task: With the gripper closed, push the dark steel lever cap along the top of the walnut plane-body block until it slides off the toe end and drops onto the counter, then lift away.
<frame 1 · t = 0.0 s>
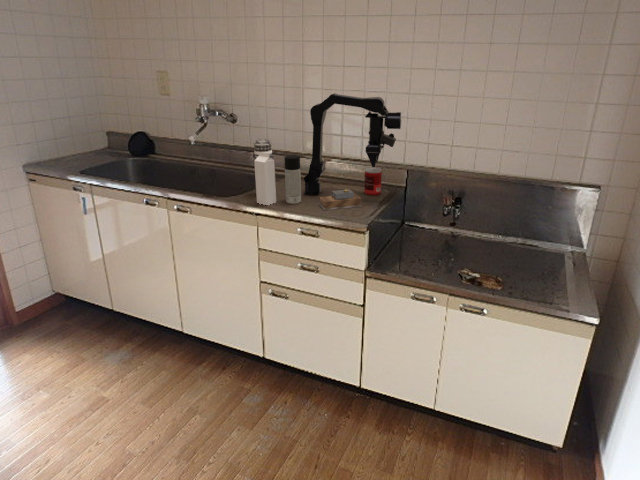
hand: (374, 164, 202), 15 cm above the countertop, tool pointing down, fingers open, 9 cm apart
canned food: (372, 193, 214), on the countertop
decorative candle: (265, 195, 213), on the countertop
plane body: (340, 205, 197), on the countertop
lever cap: (342, 197, 196), point 3 cm above the countertop, touching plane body
milk: (266, 203, 201), on the countertop
spray can: (293, 202, 202), on the countertop
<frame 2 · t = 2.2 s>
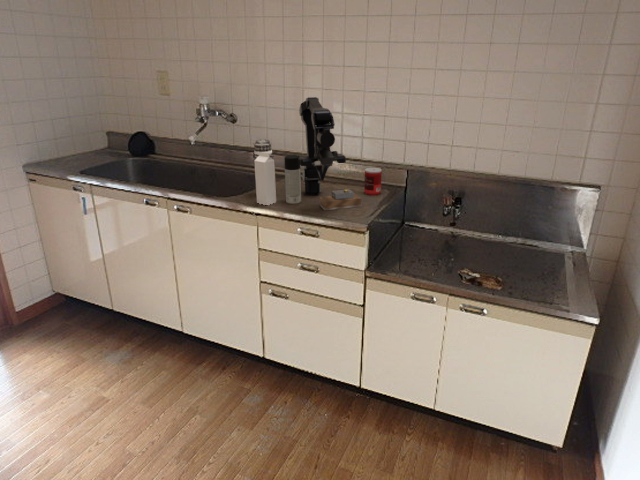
hand: (322, 180, 190), 12 cm above the countertop, tool pointing down, fingers closed
nothing on the countertop moved.
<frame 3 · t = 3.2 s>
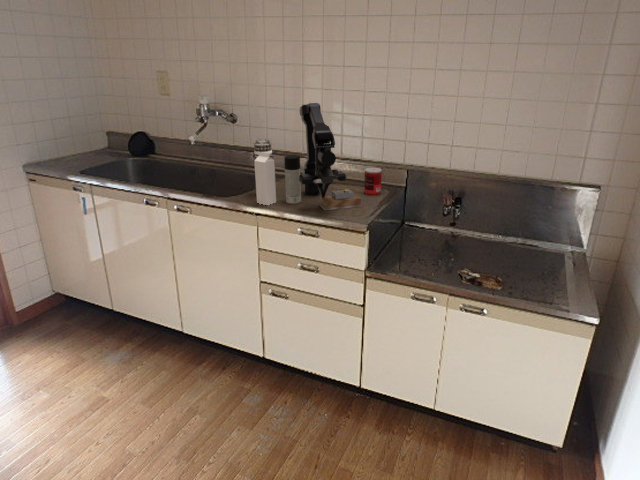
hand: (322, 197, 193), 4 cm above the countertop, tool pointing down, fingers closed
nothing on the countertop moved.
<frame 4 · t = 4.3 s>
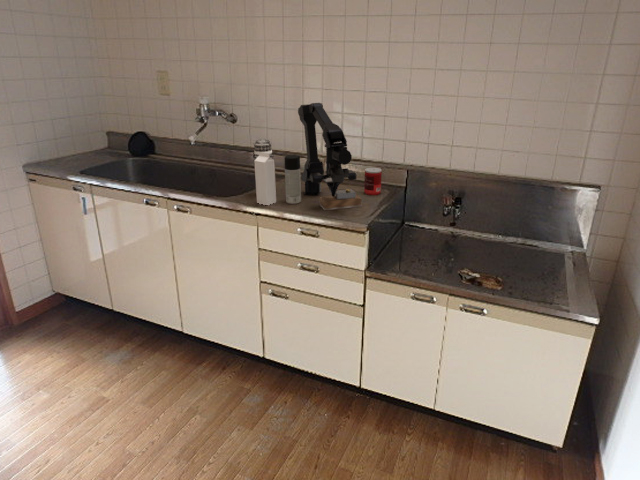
hand: (333, 196, 194), 4 cm above the countertop, tool pointing down, fingers closed
lever cap: (344, 197, 196), point 4 cm above the countertop, touching gripper
everything else where it was.
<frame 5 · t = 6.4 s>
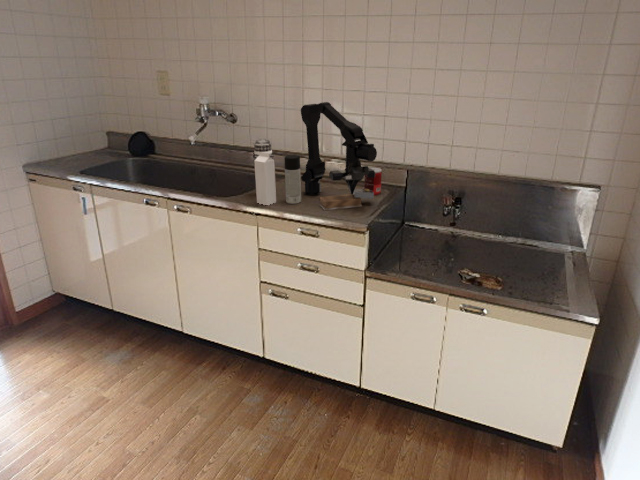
hand: (351, 194, 197), 5 cm above the countertop, tool pointing down, fingers closed
lever cap: (362, 196, 198), point 3 cm above the countertop, tilted 6°, touching gripper, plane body
everything else where it was.
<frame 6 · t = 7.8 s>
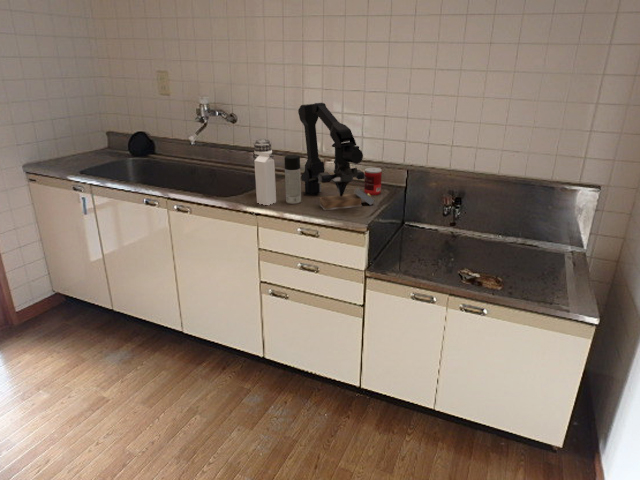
hand: (341, 195, 195), 4 cm above the countertop, tool pointing down, fingers closed
lever cap: (362, 198, 198), point 2 cm above the countertop, tilted 38°, touching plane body
everything else where it was.
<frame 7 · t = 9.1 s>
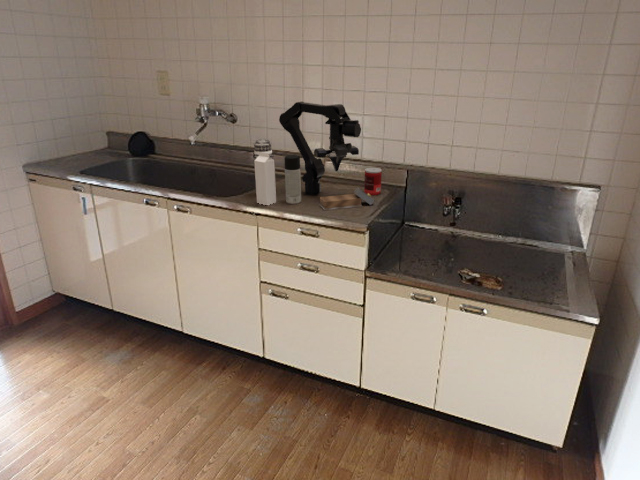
hand: (336, 171, 203), 12 cm above the countertop, tool pointing down, fingers closed
nothing on the countertop moved.
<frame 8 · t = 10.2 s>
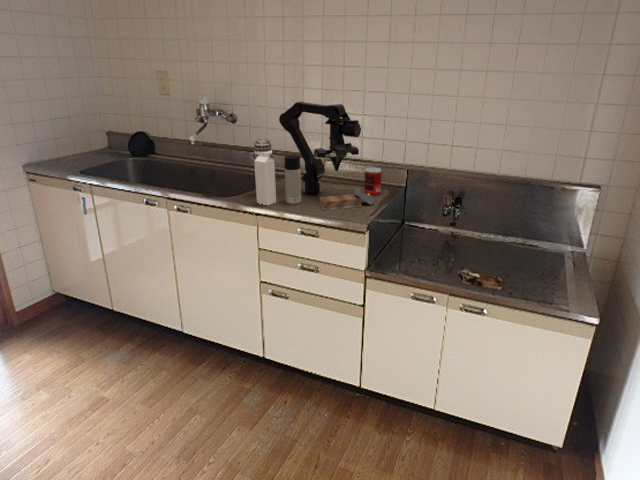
hand: (336, 171, 203), 12 cm above the countertop, tool pointing down, fingers closed
nothing on the countertop moved.
at the end: lever cap inside the target area (4.3 cm from its centre), point 2.5 cm above the countertop; lever cap moved 8.7 cm from its start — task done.
